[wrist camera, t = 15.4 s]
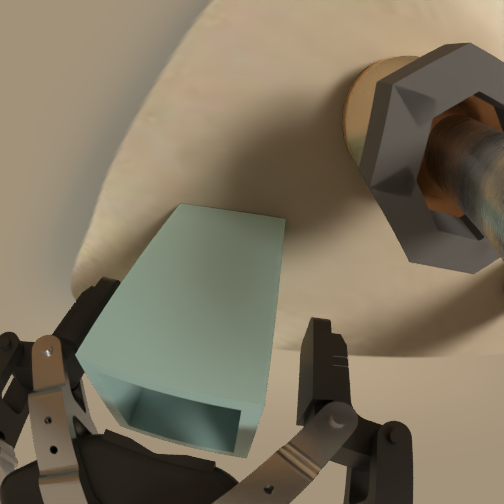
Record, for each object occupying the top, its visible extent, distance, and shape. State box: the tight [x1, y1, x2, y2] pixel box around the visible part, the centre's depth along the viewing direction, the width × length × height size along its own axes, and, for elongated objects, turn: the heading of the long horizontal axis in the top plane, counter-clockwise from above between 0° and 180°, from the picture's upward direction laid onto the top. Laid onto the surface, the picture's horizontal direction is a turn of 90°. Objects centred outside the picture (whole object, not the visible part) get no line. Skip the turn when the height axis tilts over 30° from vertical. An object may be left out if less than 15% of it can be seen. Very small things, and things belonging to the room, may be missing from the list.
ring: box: [358, 43, 504, 274], centre depth 6 cm, size 6×6×1 cm
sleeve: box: [75, 204, 286, 458], centre depth 11 cm, size 5×5×9 cm
